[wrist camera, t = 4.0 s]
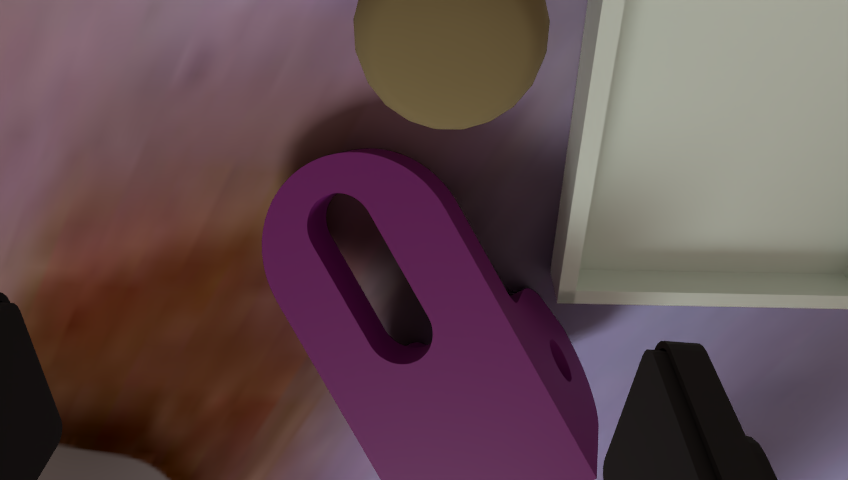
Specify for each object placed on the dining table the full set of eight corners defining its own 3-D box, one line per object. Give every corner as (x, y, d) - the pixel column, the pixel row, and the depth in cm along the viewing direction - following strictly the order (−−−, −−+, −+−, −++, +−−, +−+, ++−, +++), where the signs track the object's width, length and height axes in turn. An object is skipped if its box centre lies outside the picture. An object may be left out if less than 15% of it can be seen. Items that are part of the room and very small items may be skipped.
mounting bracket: (306, 189, 38) (455, 451, 39) (226, 214, 30) (415, 542, 31) (441, 107, 35) (599, 394, 36) (392, 110, 27) (596, 479, 28)
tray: (845, 277, 33) (871, 309, 31) (550, 271, 33) (556, 303, 31) (1066, -196, 22) (1131, -195, 20) (615, -196, 22) (632, -195, 20)
